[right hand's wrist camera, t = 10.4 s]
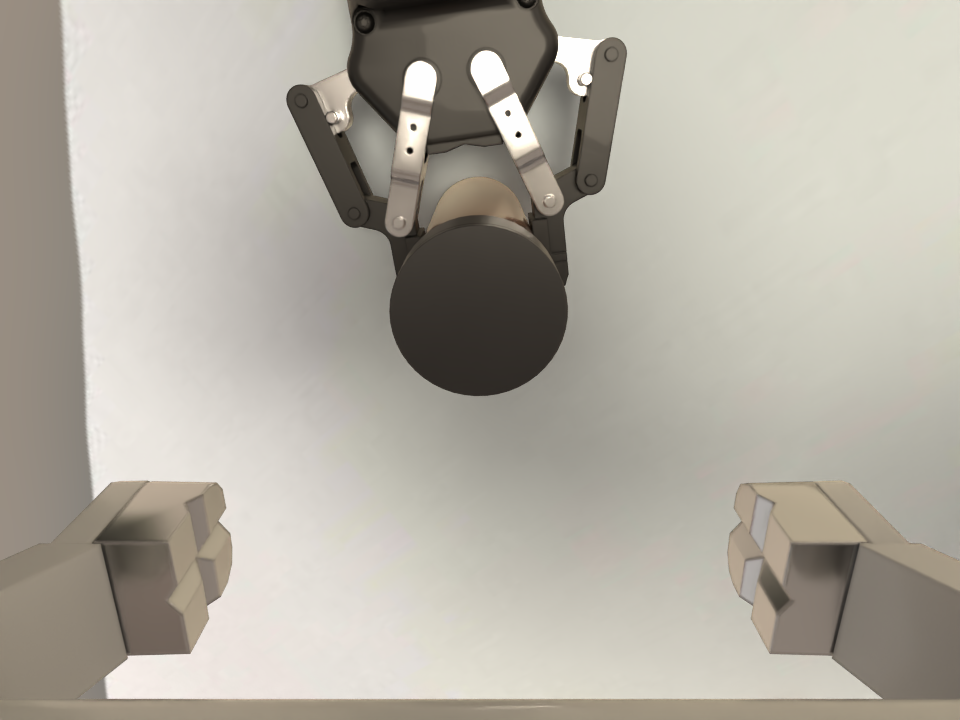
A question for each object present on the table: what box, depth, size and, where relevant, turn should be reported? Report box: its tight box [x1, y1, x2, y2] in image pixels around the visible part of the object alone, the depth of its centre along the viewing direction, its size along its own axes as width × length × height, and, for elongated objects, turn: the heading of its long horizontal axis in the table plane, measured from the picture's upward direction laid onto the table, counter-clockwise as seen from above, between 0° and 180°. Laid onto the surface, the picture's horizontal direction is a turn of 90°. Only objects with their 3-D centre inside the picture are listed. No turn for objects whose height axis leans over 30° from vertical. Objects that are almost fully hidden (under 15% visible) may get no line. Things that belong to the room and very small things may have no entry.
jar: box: [425, 177, 532, 234], centre depth 28 cm, size 5×5×16 cm
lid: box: [390, 215, 568, 396], centre depth 21 cm, size 5×5×2 cm
